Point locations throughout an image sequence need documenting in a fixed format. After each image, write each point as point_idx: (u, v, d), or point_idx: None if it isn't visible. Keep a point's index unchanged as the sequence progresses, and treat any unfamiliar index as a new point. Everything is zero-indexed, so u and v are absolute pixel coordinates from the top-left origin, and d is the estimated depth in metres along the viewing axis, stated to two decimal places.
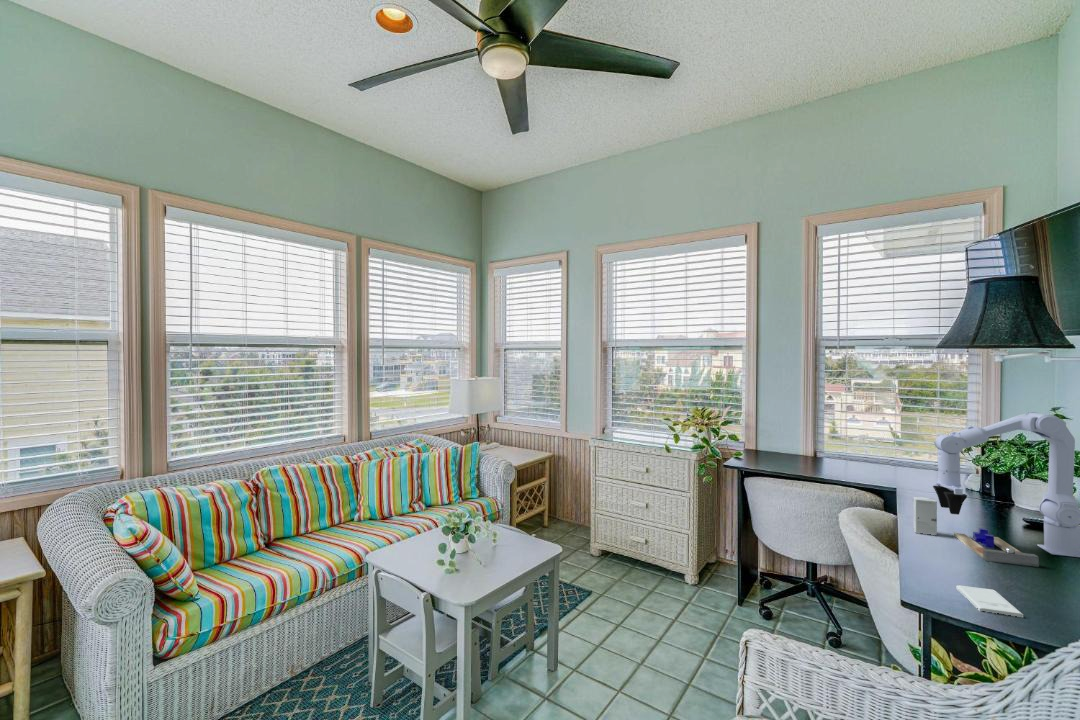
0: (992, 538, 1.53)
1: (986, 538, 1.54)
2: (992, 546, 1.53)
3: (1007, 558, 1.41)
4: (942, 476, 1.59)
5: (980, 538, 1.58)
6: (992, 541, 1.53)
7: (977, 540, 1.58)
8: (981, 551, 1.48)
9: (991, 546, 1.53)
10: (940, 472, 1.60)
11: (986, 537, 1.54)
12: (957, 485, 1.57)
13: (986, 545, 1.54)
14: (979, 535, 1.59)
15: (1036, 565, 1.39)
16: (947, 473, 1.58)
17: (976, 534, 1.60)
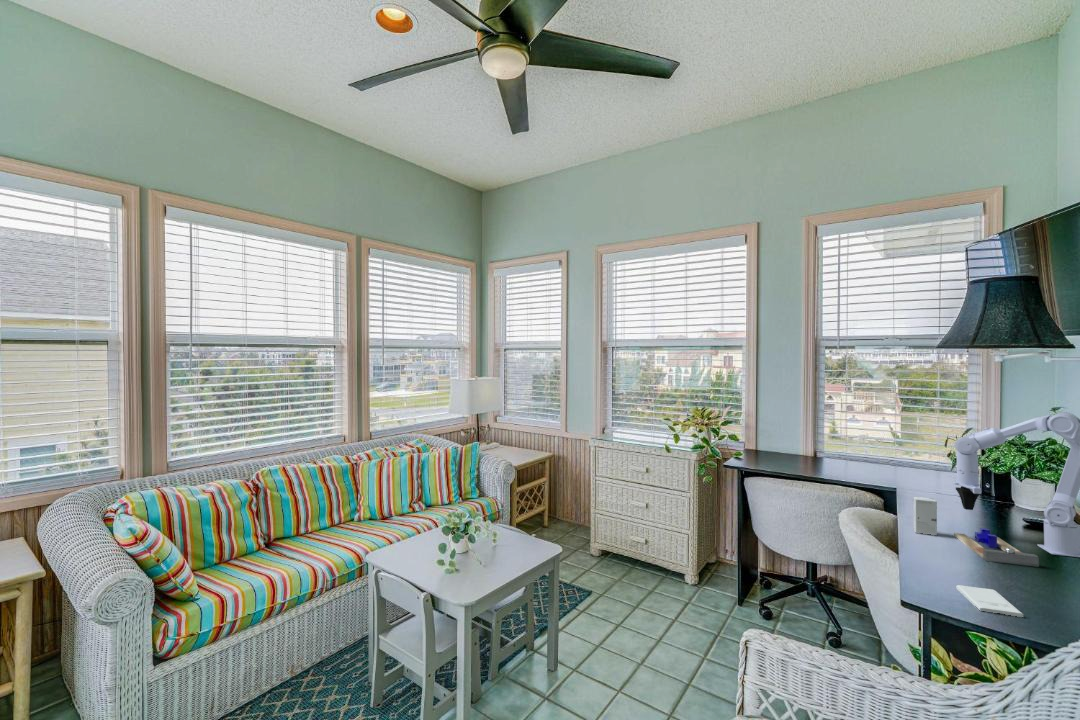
0: (995, 538, 1.53)
1: (989, 538, 1.54)
2: (995, 546, 1.53)
3: (1007, 558, 1.41)
4: (961, 476, 1.66)
5: (982, 538, 1.58)
6: (995, 541, 1.53)
7: (979, 540, 1.58)
8: (981, 551, 1.48)
9: (994, 546, 1.53)
10: (959, 472, 1.67)
11: (989, 537, 1.54)
12: (975, 485, 1.64)
13: (989, 545, 1.54)
14: (981, 535, 1.59)
15: (1036, 565, 1.39)
16: (966, 473, 1.65)
17: (978, 534, 1.59)
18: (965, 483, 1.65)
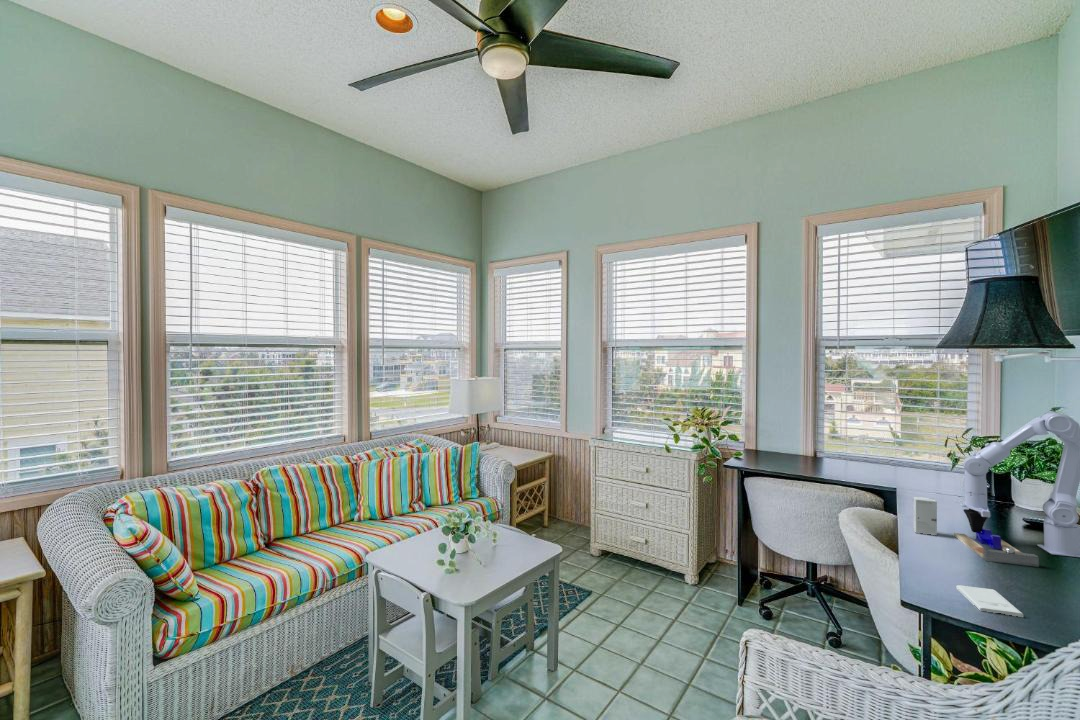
0: (999, 539, 1.52)
1: (993, 539, 1.53)
2: (999, 547, 1.52)
3: (1007, 558, 1.41)
4: (969, 498, 1.61)
5: (985, 539, 1.57)
6: (999, 542, 1.52)
7: (982, 541, 1.57)
8: (981, 551, 1.48)
9: (998, 547, 1.52)
10: (967, 494, 1.62)
11: (993, 538, 1.53)
12: (984, 507, 1.59)
13: (993, 546, 1.53)
14: (983, 535, 1.58)
15: (1036, 565, 1.39)
16: (974, 495, 1.60)
17: (980, 535, 1.58)
18: (973, 505, 1.60)
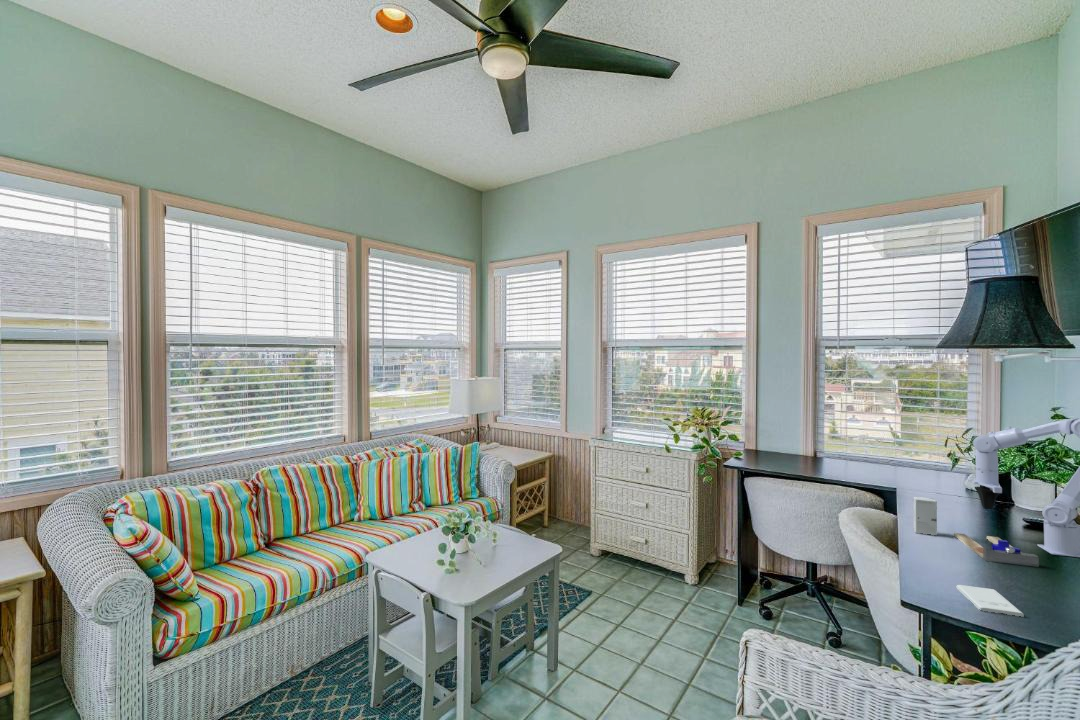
0: (1019, 551, 1.42)
1: None
2: None
3: (1007, 558, 1.41)
4: (980, 475, 1.63)
5: None
6: None
7: None
8: (981, 551, 1.48)
9: None
10: (978, 471, 1.64)
11: None
12: (995, 484, 1.61)
13: None
14: (1000, 548, 1.48)
15: (1036, 565, 1.39)
16: (985, 472, 1.62)
17: (997, 547, 1.49)
18: (985, 482, 1.62)
